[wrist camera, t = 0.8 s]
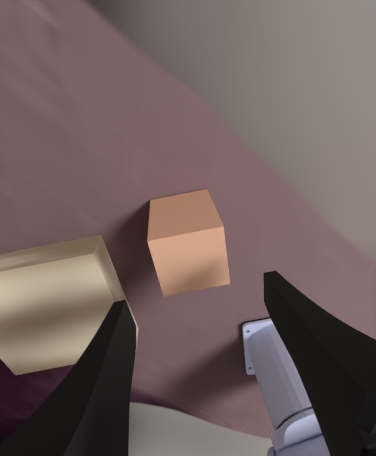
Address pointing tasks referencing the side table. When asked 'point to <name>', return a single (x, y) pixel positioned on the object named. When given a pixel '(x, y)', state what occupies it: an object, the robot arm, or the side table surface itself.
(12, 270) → the birch base
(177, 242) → the terracotta block
